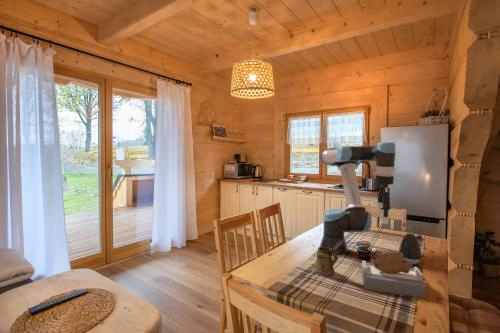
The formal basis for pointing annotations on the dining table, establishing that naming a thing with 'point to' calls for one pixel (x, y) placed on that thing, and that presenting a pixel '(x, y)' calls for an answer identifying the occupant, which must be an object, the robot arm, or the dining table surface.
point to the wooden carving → (391, 262)
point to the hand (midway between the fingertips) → (382, 219)
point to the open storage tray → (393, 281)
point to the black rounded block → (411, 248)
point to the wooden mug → (326, 260)
